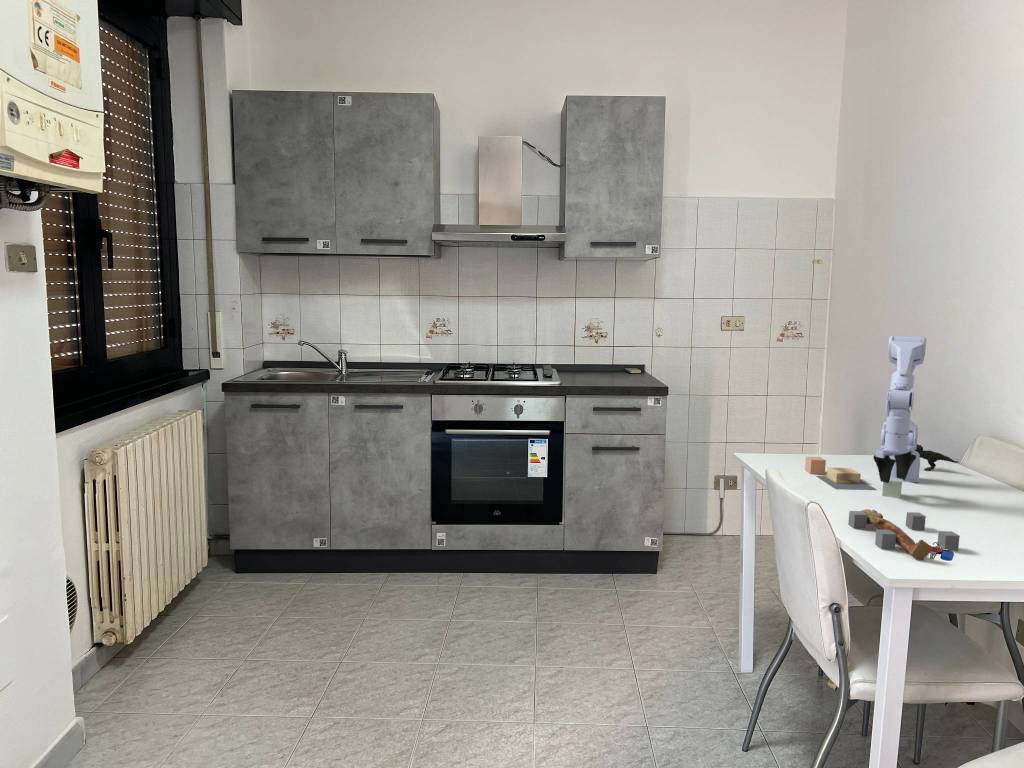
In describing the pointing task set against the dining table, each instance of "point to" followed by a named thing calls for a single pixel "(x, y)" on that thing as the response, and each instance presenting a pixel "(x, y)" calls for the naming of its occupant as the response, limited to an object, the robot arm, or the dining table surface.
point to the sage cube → (892, 488)
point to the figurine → (899, 535)
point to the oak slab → (843, 475)
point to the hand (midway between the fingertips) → (892, 480)
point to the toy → (932, 457)
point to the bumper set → (913, 521)
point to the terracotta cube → (815, 465)
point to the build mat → (846, 484)
